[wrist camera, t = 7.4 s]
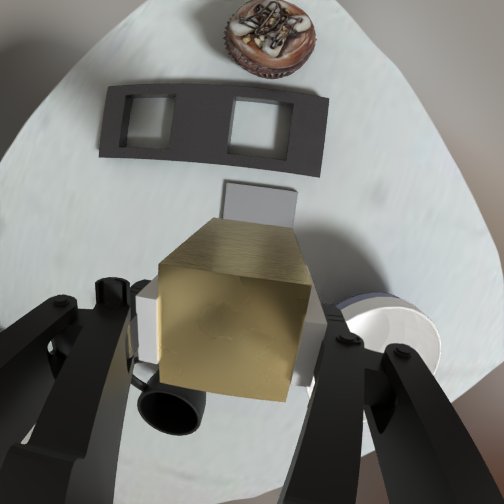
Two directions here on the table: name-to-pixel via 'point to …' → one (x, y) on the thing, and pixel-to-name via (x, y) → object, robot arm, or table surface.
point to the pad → (260, 205)
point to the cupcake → (270, 38)
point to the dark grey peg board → (216, 125)
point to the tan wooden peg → (232, 310)
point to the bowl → (390, 326)
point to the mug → (169, 405)
